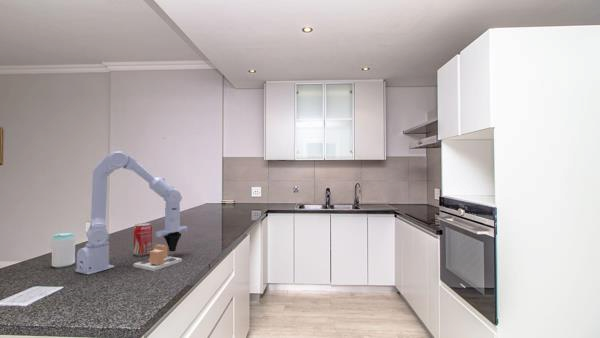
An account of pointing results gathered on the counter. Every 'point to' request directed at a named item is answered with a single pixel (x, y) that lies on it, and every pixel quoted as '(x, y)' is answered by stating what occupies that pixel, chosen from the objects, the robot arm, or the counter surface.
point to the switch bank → (153, 267)
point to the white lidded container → (63, 250)
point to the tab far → (162, 247)
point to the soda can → (142, 239)
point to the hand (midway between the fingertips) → (172, 251)
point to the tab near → (156, 257)
